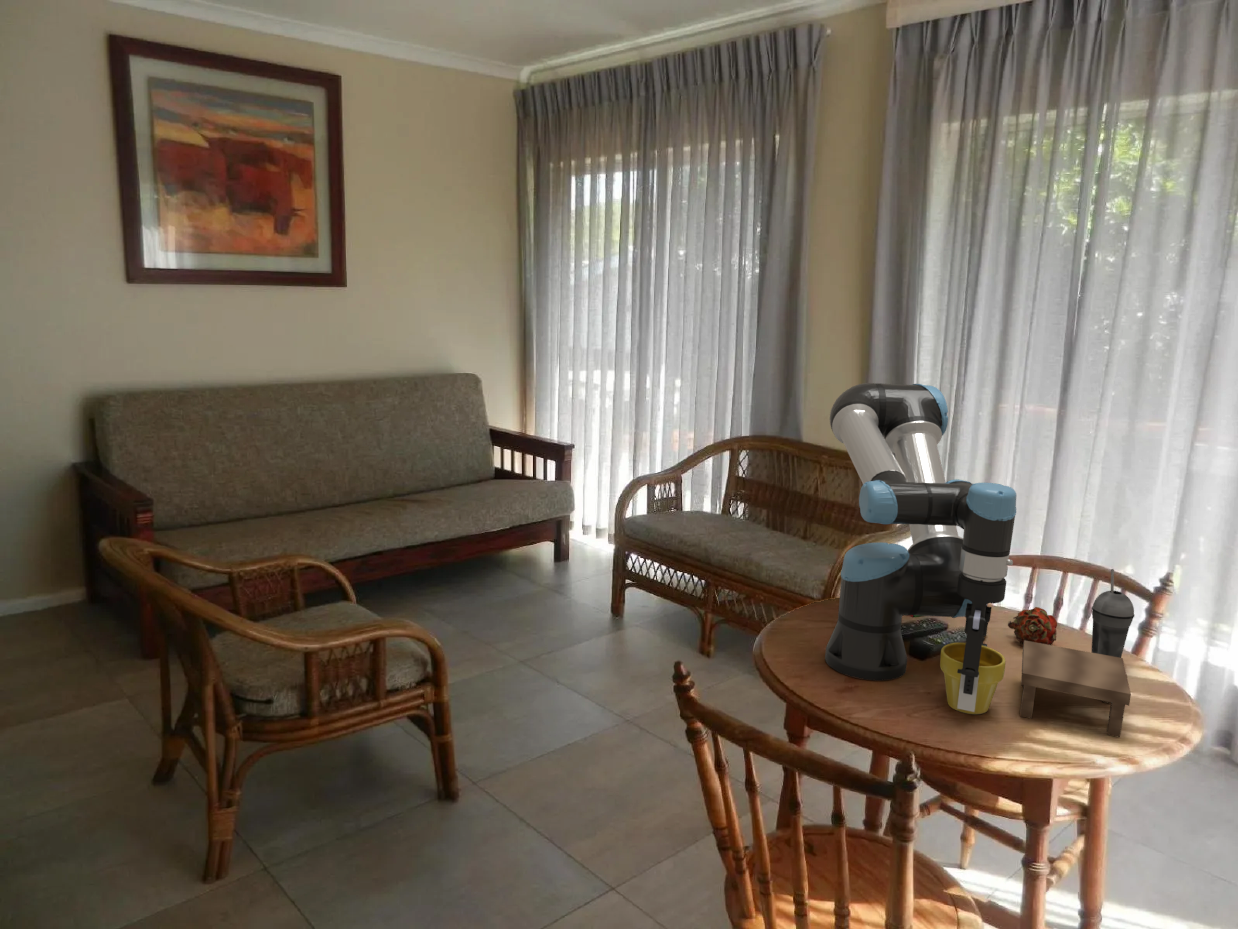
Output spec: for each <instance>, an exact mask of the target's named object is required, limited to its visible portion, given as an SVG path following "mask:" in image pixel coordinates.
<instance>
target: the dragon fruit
mask: <svg viewBox="0 0 1238 929" xmlns="http://www.w3.org/2000/svg"><path fill="white" fill-rule="evenodd" d="M1012 619H1013V621H1012V620H1009V621H1008V622H1007V626H1008V628H1009V629H1011V630H1014V631H1013V633H1014V636H1015V639H1017V640H1018V641H1019V642H1020V643H1023V644H1024V640H1025V641H1030V642H1036V643H1041V644H1047V645H1053V643H1054V642H1055V641H1056V640H1057V626H1058V622H1057V620H1056V617H1054V616H1053V615H1052V614H1048V613H1047V610H1045V609H1043V608H1041V607H1039V606H1034V607H1033V608H1030V609H1023V610H1021V611H1018V613H1017V615H1016V616H1014V617H1013V618H1012Z"/></svg>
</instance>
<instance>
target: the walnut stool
mask: <svg viewBox="0 0 1238 929" xmlns="http://www.w3.org/2000/svg"><path fill="white" fill-rule="evenodd" d="M1021 657H1022V659H1021V660H1022V661H1021V677H1020V678H1021V681H1020V684H1021V685H1020V686H1022V687H1023V690H1022V696H1021V704H1020V711H1019V712H1020V713H1019V716H1020V717H1022V718H1028V719H1033V718H1032V717H1033V711H1034V706H1035V705H1034V704H1035V698H1036V697H1035V696H1036V690H1037V689H1036V688H1039V689H1043V690H1050V691H1052V692H1053V691H1054V692H1059V693H1063V694H1064V693H1065V694H1067V695H1068V694H1070V695H1074V696H1079V697H1085V698H1087V699H1088V698H1089V699H1094V700H1099V701H1101V702H1102V703H1104V702H1108V703H1107V704H1109V703H1111V704H1110V708H1109V714H1108V720H1107V726H1106V732H1107V734H1108V735H1107V734H1106V735H1107V736H1112V737H1115V736H1118V737H1117V738H1121V734H1122V729H1123V728H1122V727H1123V720H1124V714H1125V708H1126V706H1130V704H1131V698H1132V697H1131V696H1132V693H1131V688H1130V685H1129V680H1128V675H1127V672H1126V666H1125V662H1124V658H1123V657H1121V658H1119V657H1113V656H1108V655H1102V654H1097V653H1091V651H1085V650H1079V649H1074V648H1068V647H1063V646H1057V645H1053V644H1052V645H1047V644H1041V643H1036V642H1030V641H1025V640H1024V643H1023V646H1022V656H1021Z"/></svg>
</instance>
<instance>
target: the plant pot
mask: <svg viewBox="0 0 1238 929" xmlns="http://www.w3.org/2000/svg"><path fill="white" fill-rule="evenodd" d="M965 645H966V642H960V641H959V642H950V643H947V644H945V645H944V646H943V647H942V648H941V649H940V662H939V666H940V669H941V672H943V674H944V684H945V692H946V701H947V704H948V706H949V707H950V708H951V709H953V710H956V711H957V712H960V713H963V714H968V715H981V714H985V713H986V712H988V711H989V708H990V705H991V704H992V700H993V697H994V694H995V692H996V689H997V687H998V685H999V683H1000V682H1001V681H1002V680H1003V679H1004V676H1005V670H1006V662H1007V661H1006V658H1005V656H1004V655H1003V654H1002V653H1001V652H999V651H997V650H996V649H993V648H991V647H988V646H987V647H986V646H982V647H981V655H980V663H979V670H978V672H979V678H978V687H977V695H976V703H975V711H974V712H971V711H967V710H962V709H957V706H958V697H959V689H960V680H961V674H960V673H957V671H958V669H962V668H963V660H964V652H965ZM967 668H968V667H967ZM972 669H973V668H972Z"/></svg>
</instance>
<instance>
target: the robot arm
mask: <svg viewBox="0 0 1238 929" xmlns="http://www.w3.org/2000/svg"><path fill="white" fill-rule="evenodd" d="M948 410H949V408H948V405H947V401H946V398H945V396H944V394H943V393H942V391H941V390H940V389H939V388H938V387H936V386H934V385H928V384H927V385H926V384H922V383H912V384H898V383H897V384H896V383H878V382H876V383H875V382H863V383H859V384H856V385H853V386H851V387H849V388H848V389H846V390H844V391H843V392H842V393H841V394H840V395H839V396H838V397H837V398H836V400H835V402H833V405H832V407H831V410H830V412H829V425H830V429H831V431H832V433H833V435H834V437H835V438H836V440H837V441H838V442H840V443H841V444H843V445H844V447H845V449H846V451H847V454H848V456H849V457H850V460H851V462H852V464H853V466H854V468H855V471H856V472H857V474H858V477H859V478H860V482H862V486H861V488H860V491H859V498H858V501H859V502H858V505H859V508H860V509H859V510H860V511H859V512H860V516H861V517H862V519H863V520H864V521H865V522H867V523H872V524H873V523H875V524H881V525H908V526H909V529H910V530H909V532H910V535H911V541H912V545H910V546H909V548H908V549H907V548H906V547H905V546H903V545H901V544H898V543H894V542H893V543H888V542H866V543H863V544H858V545H856V546H853V547H852V548H850V549H848V550H847V551H846V553H845V554H844V558H843V561H842V567H841V571H840V577H841V579H840V589H839V590H840V592H839V599H838V600H839V601H838V602H839V603H838V604H839V605H838V613H837V614H838V615H837V621H836V622H837V623H836V625H835V627H834V629H833V630H832V633H831V635H830V638H829V640H828V642H827V645H826V647H825V655H824V660H825V662H826V664H827V665H828V666H829V667H830V668H832V669H833V670H835V671H836V672H838V673H839V674H843V675H845V676H847V677H851V678H854V679H858V680H867V681H889V680H890V681H891V680H895V679H896V680H897V679H899V678H900V677H902V676H904V675H905V674H906V673H907V672H906V671H907V665H908V656H907V652H906V648H905V643H904V640H903V636H902V631H901V630H902V620H903V616H910V615H912V616H921V617H943V618H946V617H947V618H951V619H952V618H953V619H955V618H961V617H962V618H963V617H964V618H965V624H964V633H965V634H966V639H965V643H966V645H965V652H964V660H963V668H962V669H958V671H957V673H960V674H961V680H960V689H959V697H958V706H957V709H962V710H967V711H971V712H974V711H975V703H976V695H977V687H978V678H979V672H978V670H979V663H980V655H981V647H982V646H986V647H988V644H987V643H984V641H985V638H986V636H987V633H988V632H987V631H988V627H989V623H990V621H991V614H992V606H988V604H999V603H1001V602H1003V601H1004V600H1005V598H1006V597H1005V596H1006V591H1007V590H1006V587H1007V580H1006V577H1007V575H1008V571H1009V570H1008V569H1009V566H1012V565H1013V564H1014V561H1013V559H1010V554H1011V548H1012V540H1013V534H1014V526H1015V518H1016V515H1017V492H1016V490H1015V489H1014V488H1013V487H1010V486H1009V485H1003V484H1001V483H994V482H975V483H972V482H970V481H968V480H964V479H957V478H955V479H951V480H949V481H946V479H945V478H946V477H945V474H944V470H943V465H942V461H941V458H940V457H941V456H940V453H939V448H938V445H939V443H940V441H942V437H943V436H944V434H945V433H946V431H947V428H948V424H949V417H948V413H949V411H948ZM894 454H895V455H894ZM957 527H959V528H960V529H962V530H963V536H962V537H961V536H959V533H958V528H957ZM967 667H968V668H967ZM972 668H973V669H972Z"/></svg>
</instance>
